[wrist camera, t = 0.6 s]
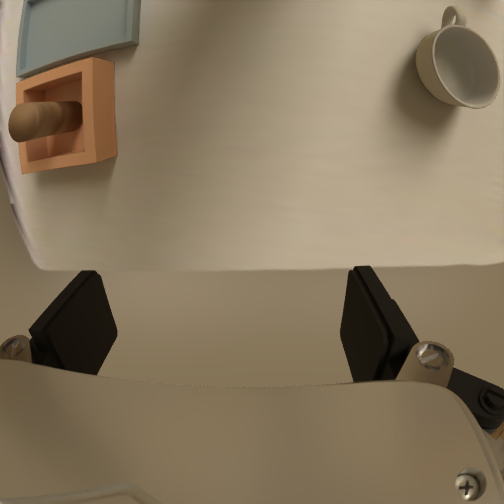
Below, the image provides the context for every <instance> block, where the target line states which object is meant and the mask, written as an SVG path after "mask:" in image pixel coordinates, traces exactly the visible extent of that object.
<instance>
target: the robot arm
mask: <svg viewBox="0 0 504 504" xmlns="http://www.w3.org/2000/svg"><path fill="white" fill-rule="evenodd" d="M29 332H30V334H31V336H32V338H31V339H30V340H29V338H28V337H26V336H24V335H16V336H13V337H11V338H9V339H7V340H6V341H5V342H3V343H2V345H1V346H0V504H504V390H503V389H502V388H500V387H498V386H496V385H494V384H491V383H489V382H487V381H484V380H482V379H480V378H477V377H475V376H472V375H470V374H468V373H465V372H463V371H460V370H458V369H456V368H454V367H453V365H454V356H453V354H452V352H451V351H450V350H449V349H448V348H447V347H446V346H444V345H442V344H440V343H438V342H434V341H422V342H419V340H418V338H417V337H416V335H415V333H414V331H413V330H412V328H411V326H410V324H409V323H408V321H407V319H406V318H405V317H404V315H403V313H402V311H401V310H400V308H399V306H398V305H397V303H396V302H395V301H394V300H393V299H391V297H390V296H389V294H388V292H387V291H386V289H385V288H384V286H383V285H382V283H381V282H380V280H379V278H378V277H377V275H376V274H375V272H374V271H373V269H372V268H371V266H355V267H354V269H353V270H350V271H349V273H348V280H347V288H346V296H345V302H344V309H343V316H342V322H341V328H340V337H341V341H342V344H343V348H344V351H345V354H346V357H347V361H348V364H349V367H350V371H351V374H352V378H353V381H354V382H352V383H336V384H322V385H307V386H285V387H213V386H192V385H176V384H162V383H152V382H143V381H134V380H126V379H117V378H111V377H104V376H97V373H98V371H99V370H100V368H101V366H102V364H103V362H104V360H105V358H106V356H107V355H108V353H109V351H110V349H111V347H112V345H113V343H114V342H115V340H116V338H117V327H116V324H115V321H114V318H113V315H112V312H111V309H110V306H109V302H108V299H107V296H106V293H105V289H104V286H103V282H102V278H101V276H100V275H99V274H97V272H96V271H95V270H82V271H81V272H80V273H79V274H78V275H77V276H76V277H75V278H74V279H73V280H72V281H71V282H70V283H69V284H68V285H67V287H66V288H65V289H64V290H63V291H62V292H61V293H60V294H59V295H58V296H57V298H56V299H55V300H54V301H53V302H52V303H51V304H50V305H49V306H48V308H47V309H46V310H45V311H44V312H43V313H42V315H41V316H40V317H39V318H38V319H37V320H36V321H35V323H34V324H33V325H32V326H31V328H30V329H29Z"/></svg>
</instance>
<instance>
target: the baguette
mask: <svg viewBox="0 0 504 504" xmlns="http://www.w3.org/2000/svg"><path fill="white" fill-rule="evenodd" d="M82 123H83V109H82V105H81V104H80V103H79V102H77V101H51V102H33V103H21V104H19V105H17V106H16V107H15V108H14V109H13V111H12V112H11V115H10V118H9V124H8V126H9V133H10V135H11V137H12V139H13V140H14V141H16V142H25V141H29V140H34V139H38V138H42V137H47V136H52V135H57V134H62V133H67V132H73V131H76V130H77V129H78V128H79V127H80V126H81V125H82Z"/></svg>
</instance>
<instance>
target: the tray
mask: <svg viewBox="0 0 504 504" xmlns="http://www.w3.org/2000/svg"><path fill="white" fill-rule="evenodd" d="M140 7H141V0H24V3H23V9H22V15H21V22H20V30H19V39H18V50H17V65H16V77H28V76H31V75H33V74H36V73H38V72H41V71H44V70H46V69H49V68H52V67H55V66H58V65H61V64H64V63H67V62H70V61H73V60H77V59H80V58H83V57H87V56H90V55H94V54H98V53H102V52H106V51H110V50H114V49H119V48H123V47H128V46H133V45H138V44H139V24H140Z"/></svg>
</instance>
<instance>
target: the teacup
mask: <svg viewBox="0 0 504 504" xmlns="http://www.w3.org/2000/svg"><path fill="white" fill-rule="evenodd" d="M455 15H456V22H455V24H454V25H452V20H453V18H454V16H455ZM416 66H417V71H418V74H419V76H420V79H421V81H422V82H423V84H424V85H425V87H426V88H427V89H428V91H429V92H430V93H431V94H432V95H434V96H435V97H436V98H438V99H439V100H441V101H443V102H445V103H447V104H451V105H456V106H463V107H469V108H474V109H480V108H484V107H486V106H488V105H489V104H491V103H492V102H493V101H494V99H495V98H496V96H497V94H498V91H499V87H500V70H499V66H498V62H497V59H496V57H495V55H494V53H493V51H492V49H491V48H490V46H489V45H488V43H487V42H486V41H485V40H484V39H483V38H482V37H481V36H480V35H479V34H477V33H476V32H475V31H473V30H471V29H469V28H467V27H466V15H465V13H464V12H463V10H461V9H460V8H458V7H455V6H449V7H447V8H446V10H445V11H444V14H443V18H442V25H441V29H440V30H438V31H435V32H433V33H431V34H429V35H428V36H426V37H425V38H424V39H423V40H422V41H421V43H420V44H419V46H418V49H417V52H416Z"/></svg>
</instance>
